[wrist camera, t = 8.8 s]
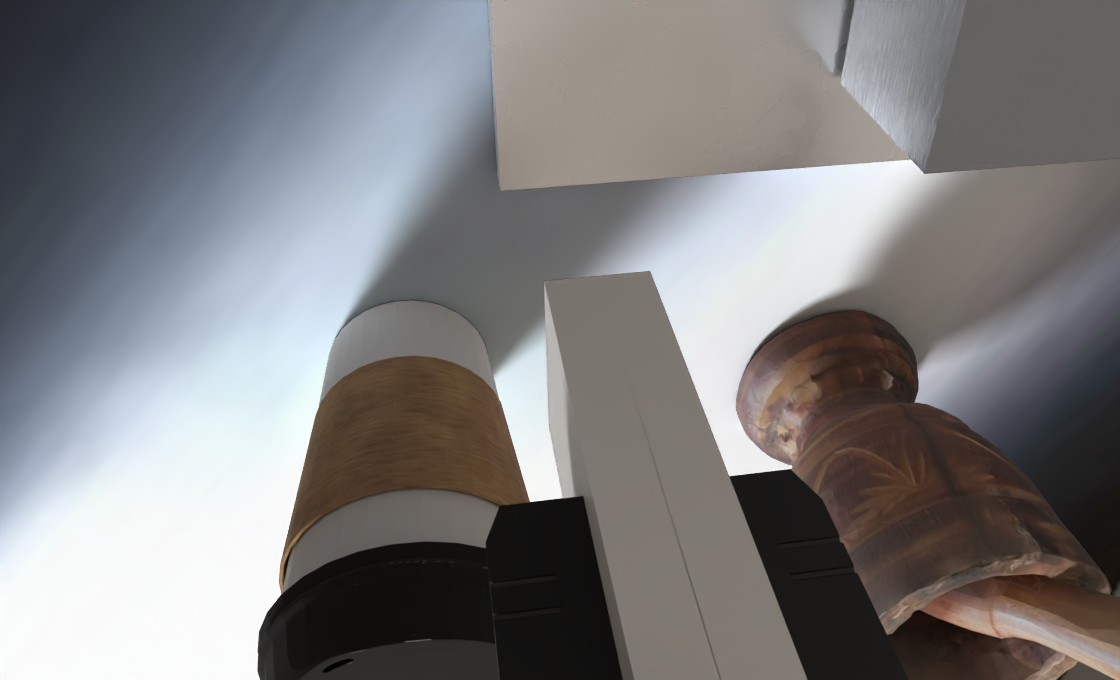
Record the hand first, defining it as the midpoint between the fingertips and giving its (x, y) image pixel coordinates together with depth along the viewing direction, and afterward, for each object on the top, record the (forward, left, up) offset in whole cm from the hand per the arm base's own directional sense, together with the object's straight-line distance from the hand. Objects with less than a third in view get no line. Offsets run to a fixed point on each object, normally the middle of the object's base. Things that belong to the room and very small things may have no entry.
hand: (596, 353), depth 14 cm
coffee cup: (+14, -4, -18) cm, 23 cm away
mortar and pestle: (+15, +13, -18) cm, 27 cm away
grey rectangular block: (-1, +14, -16) cm, 21 cm away
